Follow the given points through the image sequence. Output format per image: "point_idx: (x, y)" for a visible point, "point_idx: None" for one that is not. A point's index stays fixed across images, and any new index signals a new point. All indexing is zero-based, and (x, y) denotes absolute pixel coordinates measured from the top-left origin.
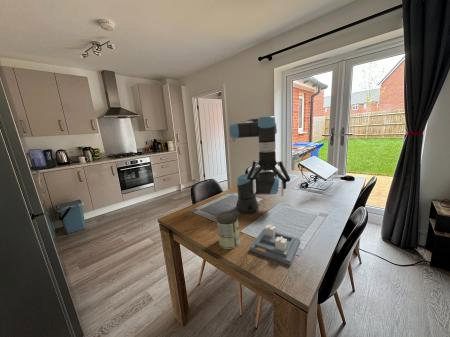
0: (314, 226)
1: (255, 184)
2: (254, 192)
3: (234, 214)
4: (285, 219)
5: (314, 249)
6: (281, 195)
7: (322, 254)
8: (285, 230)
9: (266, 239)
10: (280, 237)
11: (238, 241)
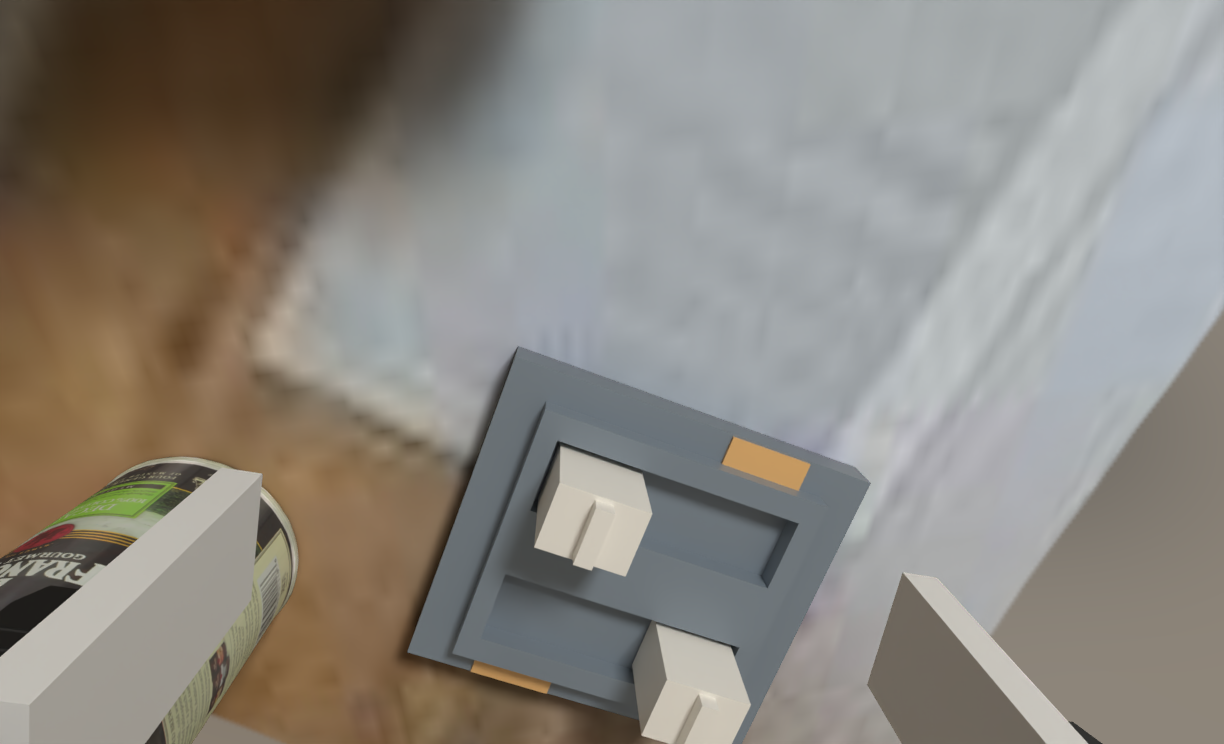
0: (1077, 160)
1: (145, 620)
2: (234, 619)
3: None
4: (781, 20)
5: (948, 533)
6: (874, 691)
7: (988, 580)
8: (750, 280)
9: (554, 577)
10: (695, 724)
11: (283, 591)
